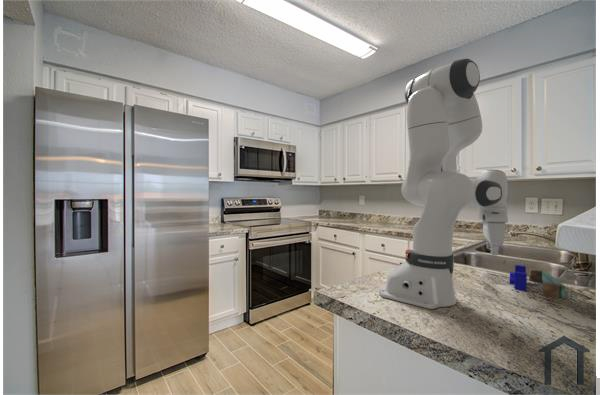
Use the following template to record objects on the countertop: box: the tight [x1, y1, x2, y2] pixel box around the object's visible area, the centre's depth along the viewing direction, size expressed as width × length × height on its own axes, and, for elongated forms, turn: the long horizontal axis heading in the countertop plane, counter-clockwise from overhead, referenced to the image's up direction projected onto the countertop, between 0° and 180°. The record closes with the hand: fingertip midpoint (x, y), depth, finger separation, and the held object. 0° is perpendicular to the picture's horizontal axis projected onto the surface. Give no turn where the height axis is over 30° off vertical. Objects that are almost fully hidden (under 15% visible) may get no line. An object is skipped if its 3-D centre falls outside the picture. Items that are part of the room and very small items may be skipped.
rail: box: [528, 268, 566, 300], centre depth 97 cm, size 5×18×4 cm, turn 154°
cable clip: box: [509, 264, 528, 292], centre depth 100 cm, size 12×4×6 cm, turn 143°
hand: (492, 252), depth 104 cm, fingers open, 8 cm apart
